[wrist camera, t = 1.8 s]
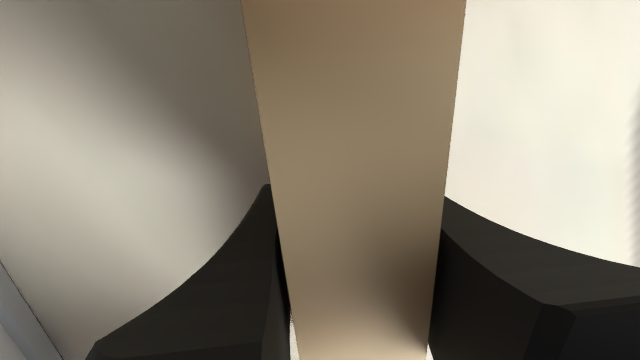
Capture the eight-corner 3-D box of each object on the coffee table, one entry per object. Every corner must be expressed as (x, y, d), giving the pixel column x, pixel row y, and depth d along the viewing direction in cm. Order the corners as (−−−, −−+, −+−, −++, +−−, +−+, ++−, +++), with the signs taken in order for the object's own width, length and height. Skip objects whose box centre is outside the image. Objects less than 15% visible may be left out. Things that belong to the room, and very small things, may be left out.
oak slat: (371, 322, 17) (413, 475, 12) (307, 331, 17) (321, 490, 12) (369, -109, 9) (491, -216, 4) (247, -100, 9) (208, -198, 4)
